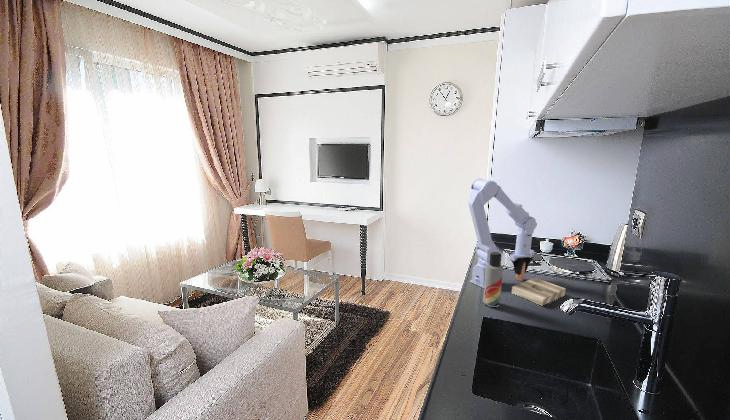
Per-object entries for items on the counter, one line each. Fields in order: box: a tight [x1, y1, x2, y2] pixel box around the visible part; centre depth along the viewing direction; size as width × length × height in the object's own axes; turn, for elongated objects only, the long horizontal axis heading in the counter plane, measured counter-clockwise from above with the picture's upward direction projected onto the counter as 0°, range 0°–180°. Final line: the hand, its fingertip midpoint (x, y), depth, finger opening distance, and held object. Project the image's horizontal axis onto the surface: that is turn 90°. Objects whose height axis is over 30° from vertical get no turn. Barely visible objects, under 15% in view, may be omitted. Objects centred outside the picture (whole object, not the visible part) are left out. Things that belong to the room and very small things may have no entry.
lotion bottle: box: [482, 251, 504, 306], centre depth 113 cm, size 6×6×20 cm
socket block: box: [511, 277, 567, 307], centre depth 122 cm, size 16×12×3 cm
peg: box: [515, 262, 526, 282], centre depth 135 cm, size 3×3×8 cm
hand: (520, 273), depth 135 cm, fingers closed on peg, 3 cm apart
